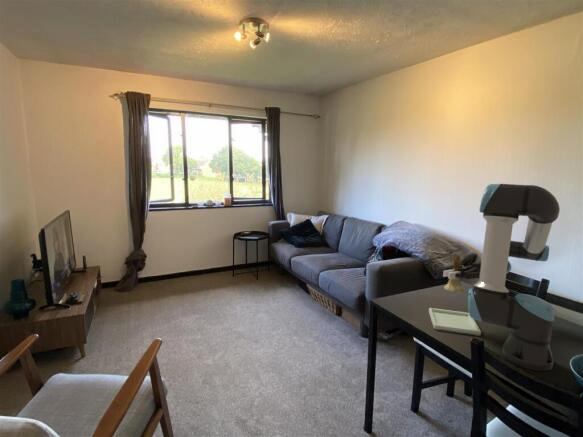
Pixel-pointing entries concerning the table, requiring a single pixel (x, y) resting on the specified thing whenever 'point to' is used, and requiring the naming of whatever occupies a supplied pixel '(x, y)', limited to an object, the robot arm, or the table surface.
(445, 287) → the hand bell
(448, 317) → the tray
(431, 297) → the table surface
